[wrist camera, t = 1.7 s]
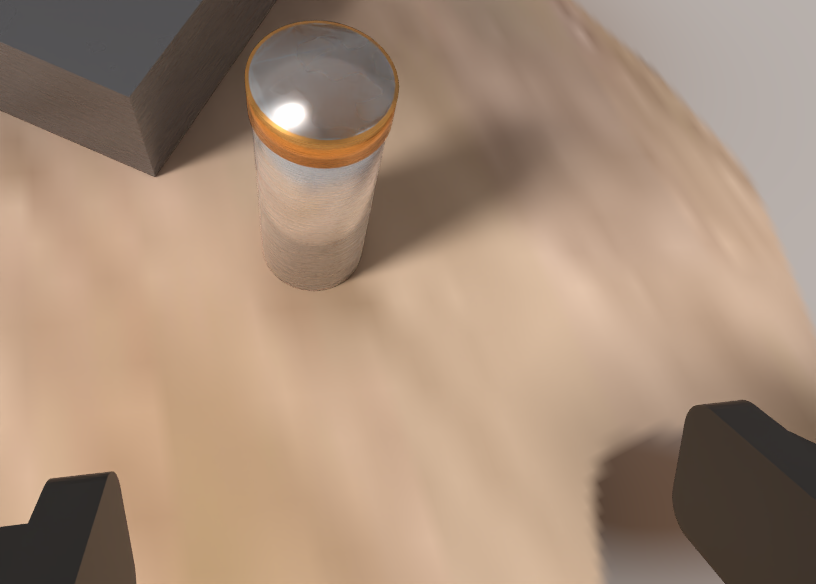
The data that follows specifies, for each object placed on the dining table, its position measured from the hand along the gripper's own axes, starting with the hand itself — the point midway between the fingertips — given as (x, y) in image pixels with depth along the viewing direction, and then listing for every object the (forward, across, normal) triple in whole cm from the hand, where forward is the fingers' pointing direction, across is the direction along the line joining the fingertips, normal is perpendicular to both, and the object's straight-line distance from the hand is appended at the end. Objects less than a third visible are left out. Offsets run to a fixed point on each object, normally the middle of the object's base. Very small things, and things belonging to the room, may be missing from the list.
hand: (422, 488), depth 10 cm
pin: (+19, 0, +3) cm, 19 cm away
